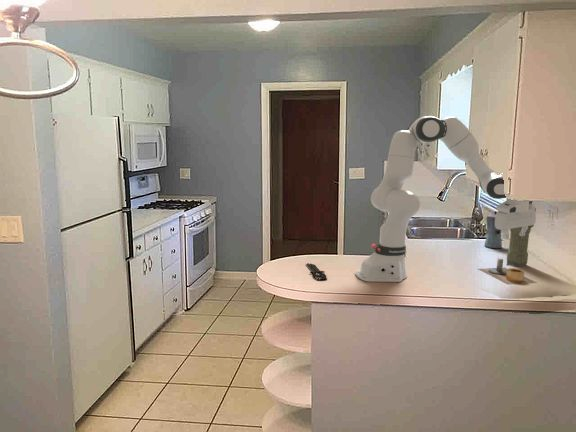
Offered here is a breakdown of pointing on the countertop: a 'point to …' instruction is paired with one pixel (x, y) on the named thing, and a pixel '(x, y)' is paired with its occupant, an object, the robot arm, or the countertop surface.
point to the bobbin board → (502, 273)
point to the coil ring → (515, 275)
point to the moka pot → (493, 233)
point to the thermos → (518, 246)
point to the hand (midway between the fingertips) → (513, 237)
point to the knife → (313, 271)
